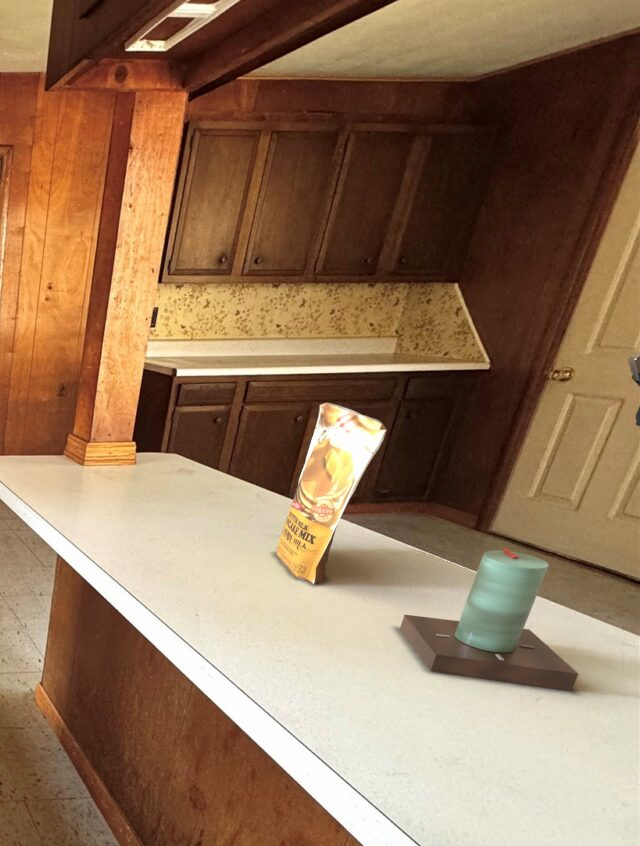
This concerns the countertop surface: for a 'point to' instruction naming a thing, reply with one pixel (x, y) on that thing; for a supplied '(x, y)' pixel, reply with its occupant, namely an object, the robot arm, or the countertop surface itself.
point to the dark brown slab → (487, 656)
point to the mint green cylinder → (500, 600)
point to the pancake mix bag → (326, 487)
